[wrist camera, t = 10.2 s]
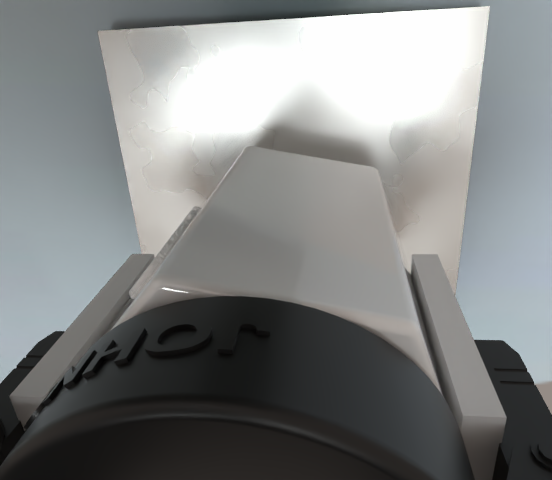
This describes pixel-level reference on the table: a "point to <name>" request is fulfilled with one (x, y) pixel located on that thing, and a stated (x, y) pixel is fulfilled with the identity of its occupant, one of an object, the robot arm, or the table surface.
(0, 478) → the jar
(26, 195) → the table surface
